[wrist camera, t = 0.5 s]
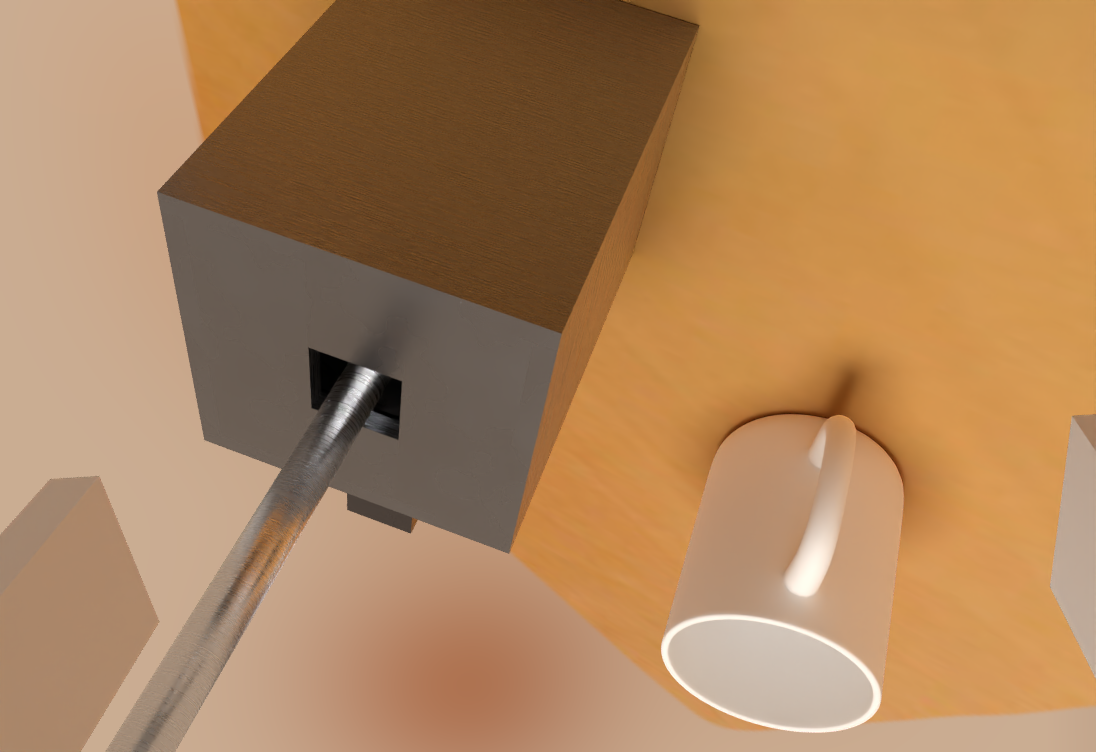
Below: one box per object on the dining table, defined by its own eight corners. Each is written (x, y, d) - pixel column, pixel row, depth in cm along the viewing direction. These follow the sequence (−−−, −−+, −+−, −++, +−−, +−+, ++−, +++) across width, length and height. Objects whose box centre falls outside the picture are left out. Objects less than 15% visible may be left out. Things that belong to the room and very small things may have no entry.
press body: (400, -69, 33) (156, 192, 24) (699, 26, 32) (561, 333, 23) (388, 257, 44) (219, 517, 35) (608, 334, 43) (492, 621, 34)
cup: (700, 497, 49) (647, 688, 43) (753, 325, 40) (695, 534, 34) (873, 550, 48) (845, 754, 41) (968, 383, 39) (951, 612, 32)
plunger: (270, 155, 27) (-583, 1160, 13) (559, 254, 26) (-13, 1435, 12) (285, 353, 33) (-280, 1176, 19) (519, 437, 32) (111, 1358, 18)
